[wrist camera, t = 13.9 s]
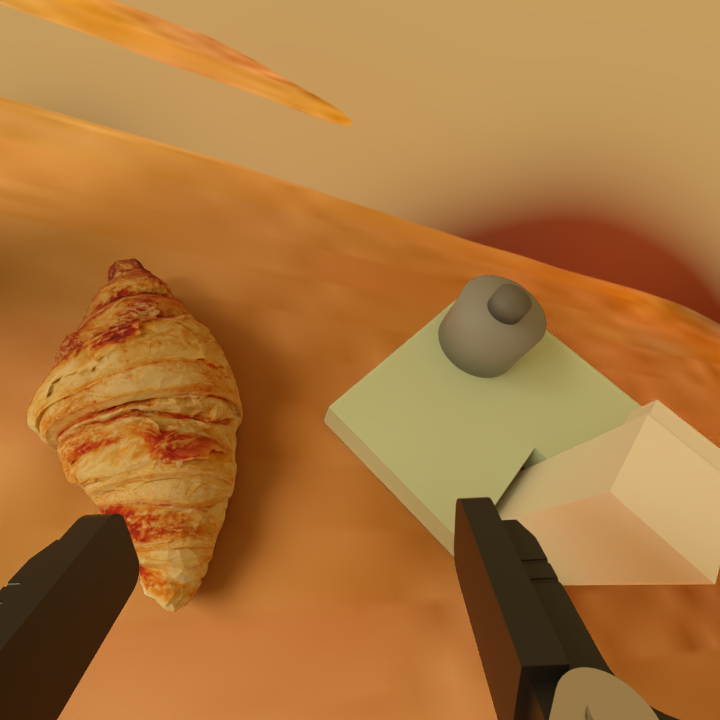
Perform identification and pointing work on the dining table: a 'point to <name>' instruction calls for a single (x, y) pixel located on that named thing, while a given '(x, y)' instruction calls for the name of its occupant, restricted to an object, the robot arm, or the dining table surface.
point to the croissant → (146, 425)
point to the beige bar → (626, 505)
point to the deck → (473, 404)
